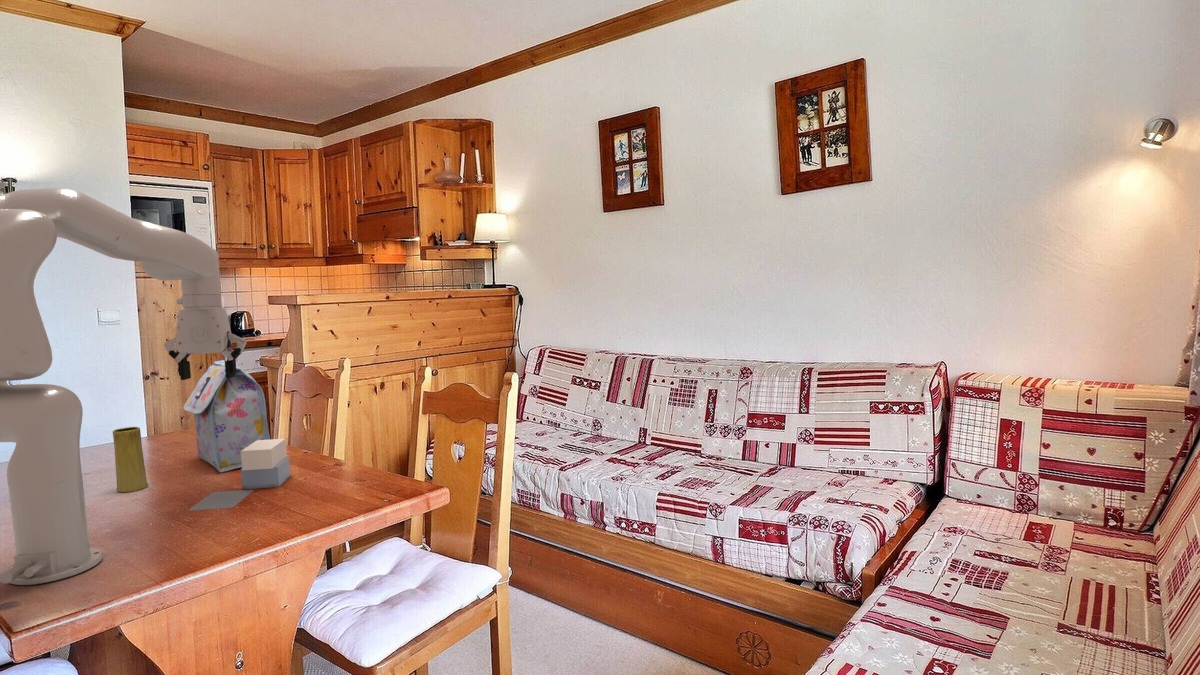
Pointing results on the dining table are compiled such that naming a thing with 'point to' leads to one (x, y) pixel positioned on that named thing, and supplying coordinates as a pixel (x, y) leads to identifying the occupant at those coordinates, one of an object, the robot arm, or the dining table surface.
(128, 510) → the dining table surface
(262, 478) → the open box
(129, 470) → the vase
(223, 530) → the dining table surface
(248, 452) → the lid
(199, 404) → the lunch bag
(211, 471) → the dining table surface
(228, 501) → the mat
